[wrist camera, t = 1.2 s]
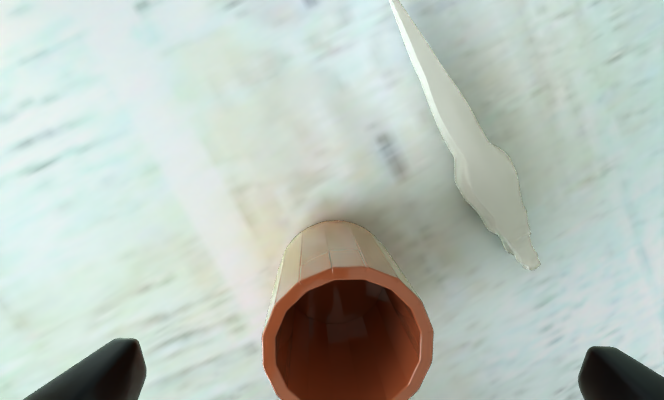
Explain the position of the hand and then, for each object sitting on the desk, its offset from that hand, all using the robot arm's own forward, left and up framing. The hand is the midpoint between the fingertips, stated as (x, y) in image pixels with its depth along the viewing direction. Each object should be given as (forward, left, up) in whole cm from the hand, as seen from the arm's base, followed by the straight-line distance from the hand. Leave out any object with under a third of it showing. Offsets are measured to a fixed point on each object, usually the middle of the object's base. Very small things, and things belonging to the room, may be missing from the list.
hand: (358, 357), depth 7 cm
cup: (-3, 0, -11) cm, 12 cm away
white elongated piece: (+4, -6, -12) cm, 14 cm away
